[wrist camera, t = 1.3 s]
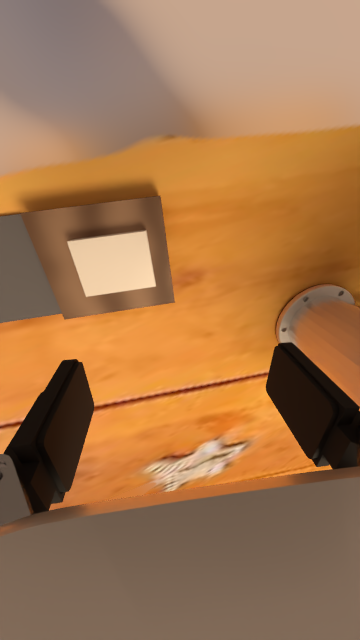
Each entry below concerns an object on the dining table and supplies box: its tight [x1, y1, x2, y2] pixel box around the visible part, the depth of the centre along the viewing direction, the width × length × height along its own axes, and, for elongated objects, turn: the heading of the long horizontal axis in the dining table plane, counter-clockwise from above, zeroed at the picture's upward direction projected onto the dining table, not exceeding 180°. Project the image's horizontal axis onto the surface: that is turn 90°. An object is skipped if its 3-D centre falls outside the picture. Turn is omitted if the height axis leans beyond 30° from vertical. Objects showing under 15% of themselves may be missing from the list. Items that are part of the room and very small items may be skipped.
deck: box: [20, 196, 175, 319], centre depth 25 cm, size 14×12×2 cm
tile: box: [67, 230, 156, 297], centre depth 24 cm, size 8×6×2 cm
